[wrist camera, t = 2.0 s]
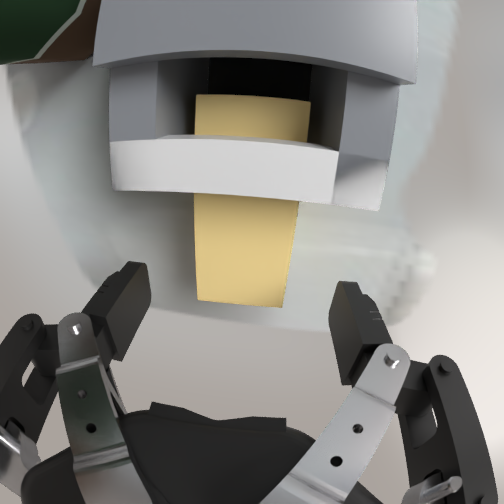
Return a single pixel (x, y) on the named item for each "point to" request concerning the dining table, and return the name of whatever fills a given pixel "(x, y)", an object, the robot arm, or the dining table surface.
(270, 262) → the yellow rectangular block
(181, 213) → the dining table surface
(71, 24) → the beer bottle
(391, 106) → the dispenser
